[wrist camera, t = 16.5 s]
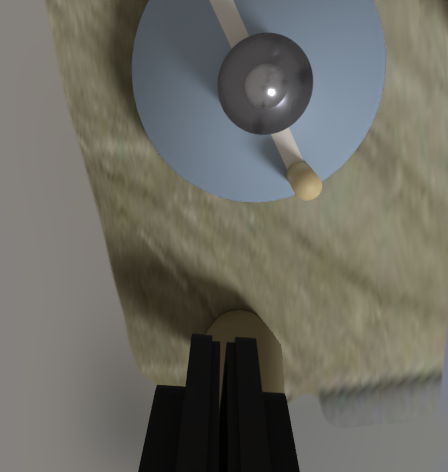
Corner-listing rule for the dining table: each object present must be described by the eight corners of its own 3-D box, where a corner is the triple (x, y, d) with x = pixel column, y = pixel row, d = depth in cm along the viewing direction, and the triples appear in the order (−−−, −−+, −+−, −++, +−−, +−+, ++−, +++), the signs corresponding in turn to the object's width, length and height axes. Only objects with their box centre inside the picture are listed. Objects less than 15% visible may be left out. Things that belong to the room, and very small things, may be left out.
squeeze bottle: (215, 372, 43) (210, 568, 26) (186, 313, 40) (159, 492, 23) (287, 351, 42) (329, 541, 25) (263, 288, 38) (292, 459, 22)
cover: (205, 63, 28) (199, 63, 22) (276, 22, 27) (291, 11, 21) (239, 134, 30) (243, 152, 24) (307, 98, 29) (329, 108, 23)
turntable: (87, 22, 28) (61, 15, 24) (325, -127, 25) (347, -169, 20) (207, 230, 35) (204, 256, 30) (408, 134, 31) (440, 146, 27)
